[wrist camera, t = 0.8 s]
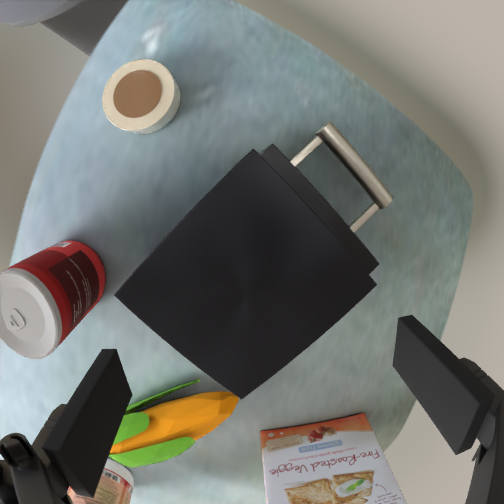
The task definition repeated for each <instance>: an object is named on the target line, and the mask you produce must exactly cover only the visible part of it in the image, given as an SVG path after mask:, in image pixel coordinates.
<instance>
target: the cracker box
mask: <svg viewBox="0 0 504 504" xmlns="http://www.w3.org/2000/svg"><path fill="white" fill-rule="evenodd" d="M260 434H261V450H262V460H263V471H264V482H265V494H266V504H407V503H406V501H405V499H404V496H403V494H402V492H401V490H400V487H399V485H398V483H397V481H396V479H395V477H394V475H393V472H392V470H391V468H390V466H389V464H388V462H387V460H386V457H385V455H384V453H383V451H382V449H381V447H380V444H379V442H378V440H377V438H376V436H375V434H374V432H373V430H372V428H371V426H370V424H369V422H368V420H367V418H366V416H365V414H364V413H362V414H358V415H354V416H349V417H345V418H340V419H335V420H330V421H325V422H320V423H314V424H308V425H303V426H296V427H290V428H283V429H275V430H267V431H261V432H260Z"/></svg>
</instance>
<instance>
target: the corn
mask: <svg viewBox="0 0 504 504" xmlns="http://www.w3.org/2000/svg"><path fill="white" fill-rule="evenodd" d="M200 380H201V379H199V380H196V381H192V382H189V383H186V384H183V385H179V386H176V387H174V388H171V389H169V390H167V391H164V392H162V393H159V394H157V395H154V396H152V397H149V398H147V399H144V400H142V401H139V402H137V403H134V404H131V405H129V406H128V407H127V409H126V412H125V414H124V417H123V419H122V422H121V425H120V427H119V430H118V432H117V435H116V438H115V440H114V443H113V445H112V448H111V451H110V453H109V456H110V457H111V458H112V459H114V460H115V461H117V462H119V463H121V464H123V465H125V466H128V467H130V468H134V467H139V466H144V465H149V464H154V463H158V462H163V461H165V460H168V459H170V458H172V457H175V456H177V455H179V454H181V453H183V452H184V451H185V450H187V449H188V448H190V447H191V446H192V445H193V444H194V443H195V440H197V439H199V438H201V437H202V436H204V435H206V434H207V433H209V432H211V431H212V430H213V429H215V428H216V427H217V426H218V425H219V424H221V423H222V422H223V421H224V420H225V419H226V418H228V417H229V416H230V415H231V414H232V412H233V410H234V408H235V406H236V404H237V402H238V400H239V398H238V397H237V396H236V395H234V394H233V393H232V392H223V391H216V392H205V393H199V394H196V395H192V396H188V397H184V398H180V399H176V400H172V401H168V402H164V403H161V404H159V405H156V406H154V407H151V408H148V409H146V410H143V411H140V412H135V413H132V412H134V411H136V410H138V409H140V408H142V407H144V406H146V405H148V404H150V403H152V402H154V401H156V400H158V399H160V398H162V397H164V396H166V395H168V394H170V393H172V392H175V391H177V390H179V389H181V388H183V387H186V386H189V385H192V384H194V383H197V382H199V381H200ZM130 413H131V414H130Z"/></svg>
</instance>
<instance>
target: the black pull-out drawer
mask: <svg viewBox="0 0 504 504" xmlns="http://www.w3.org/2000/svg"><path fill="white" fill-rule="evenodd" d="M315 135H316V137H315V138H314V139H312V140H311V141H310V142H309V143H308V144H307V145H306V146H305V147H304V148H303V149H302V150H301V151H300V152H299V153H297V154H296V155H295V156H294V157H293V158H292V159H291V160H290V161H289V160H288V159H287V158H286V157H285V156H284V154H283V153H282V152H281V151H280V150H279V149H278V148H277V147H276V146H275V145H274V144H271V145H270V146H269V147H267V148H266V149H265V150H263V151H262V152H261V153H260V154H259V155H260V156H261V157H262V158H263V159H264V160H265V161H266V162H267V163H268V164H269V165H270V166H271V167H272V168H273V169H274V170H275V171H276V172H277V173H278V174H279V175H280V176H281V177H282V178H283V179H284V180H285V181H286V182H287V183H288V185H289V186H290V187H291V188H292V189H293V190H294V191H295V192H296V193H297V194H298V195H299V196H300V197H301V198H302V199H303V201H304V202H305V203H306V204H307V205H308V206H309V207H310V208H311V209H312V210H313V211H314V212H315V214H316V215H317V216H318V217H319V218H320V219H321V220H322V221H323V222H324V224H325V225H326V226H327V227H328V228H329V229H330V230H331V231H332V233H333V234H334V235H335V236H336V237H337V238H338V239H339V240H340V242H341V243H342V244H343V245H344V246H345V247H346V249H347V250H348V251H349V252H350V253H351V254H352V255H353V257H354V258H355V259H356V260H357V261H358V263H359V264H360V265H361V266H362V267H363V268H364V270H365V271H366V272H367V273H368V274H370V273H371V272H372V271H373V270H374V269H375V268H376V267H377V266H378V265H379V263H378V261H377V260H376V259H375V258H374V257H373V255H372V254H371V253H370V252H369V250H368V249H367V248H366V247H365V245H364V244H363V243H362V242H361V241H360V239H359V238H358V237H357V236H356V235H355V232H356V231H357V230H358V229H359V228H360V227H361V226H362V225H363V224H364V223H365V222H366V221H367V220H368V219H369V218H370V217H371V216H372V215H373V214H374V213H375V212H376V211H377V210H378V209H383V208H385V207H387V206H388V205H389V204H390V203H391V202H392V200H393V196H392V195H391V193H390V192H389V191H388V189H387V188H386V187H385V186H384V184H383V183H382V182H381V180H380V179H379V178H378V177H377V175H376V174H375V173H374V172H373V170H372V169H371V168H370V167H369V165H368V164H367V163H366V162H365V160H364V159H363V158H362V157H361V156H360V154H359V153H358V152H357V151H356V150H355V148H354V147H353V146H352V145H351V144H350V143H349V141H348V140H347V139H346V138H345V137H344V136H343V135H342V133H341V132H340V131H339V130H338V129H337V128H336V127H335V126H334V125H333V123H332V122H331V121H329V122H327V123H326V124H324V125H323V126H322V127H321V128H320V129H319V130H318V131H317V132H316V133H315ZM322 142H323V143H324V144H325V146H326V147H327V148H328V149H329V150H330V151H331V152H332V153H333V154H334V156H335V157H336V158H337V159H338V160H339V161H340V162H341V164H342V165H343V166H344V167H345V168H346V169H347V171H348V172H349V173H350V174H351V175H352V177H353V178H354V179H355V180H356V181H357V182H358V184H359V185H360V186H361V187H362V189H363V190H364V191H365V192H366V193H367V195H368V196H369V197H370V198H371V200H372V201H373V202H372V203H371V204H370V205H369V206H368V207H367V208H366V209H365V210H364V211H363V212H362V213H361V214H360V215H359V216H358V217H357V218H356V219H355V220H354V221H353V222H352V223H351V224H350V225H349V226H348V225H347V224H346V223H345V222H344V221H343V219H342V218H341V217H340V216H339V215H338V214H337V212H336V211H335V210H334V209H333V208H332V207H331V206H330V204H329V203H328V202H327V201H326V200H325V199H324V198H323V197H322V195H321V194H320V193H319V192H318V191H317V190H316V189H315V188H314V187H313V185H312V184H311V183H310V182H309V181H308V180H307V179H306V178H305V177H304V176H303V175H302V174H301V172H300V171H299V170H298V169H297V168H296V166H297V165H298V164H299V163H300V162H301V161H302V160H304V159H305V158H306V157H307V156H308V155H309V154H310V153H311V152H312V151H313V150H314V149H315V148H316V147H317V146H318V145H320V144H321V143H322Z"/></svg>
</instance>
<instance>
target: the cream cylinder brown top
mask: <svg viewBox="0 0 504 504" xmlns="http://www.w3.org/2000/svg"><path fill="white" fill-rule="evenodd" d="M179 104H180V89H179V86H178V84H177V82H176V80H175V79H174V77H173V76H172V75H171V73H170V72H169V70H168V69H167V68H166V67H165V66H164V65H162V64H161V63H159V62H157V61H154V60H149V59H140V60H135V61H131V62H129V63H127V64H125V65H123V66H121V67H120V68H119V69H118V70H116V71H115V72H114V73H113V75H112V76H111V77H110V79H109V80H108V82H107V84H106V86H105V89H104V92H103V109H104V112H105V114H106V116H107V118H108V119H109V120H110V122H111V123H113V124H114V125H115V126H117V127H119V128H121V129H124V130H127V131H130V132H133V133H136V134H148V133H152V132H155V131H158V130H160V129H161V128H163V127H164V126H166V125H167V124H168V123H169V122H170V121H171V120H172V119H173V117H174V116H175V114H176V112H177V110H178V108H179Z"/></svg>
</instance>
